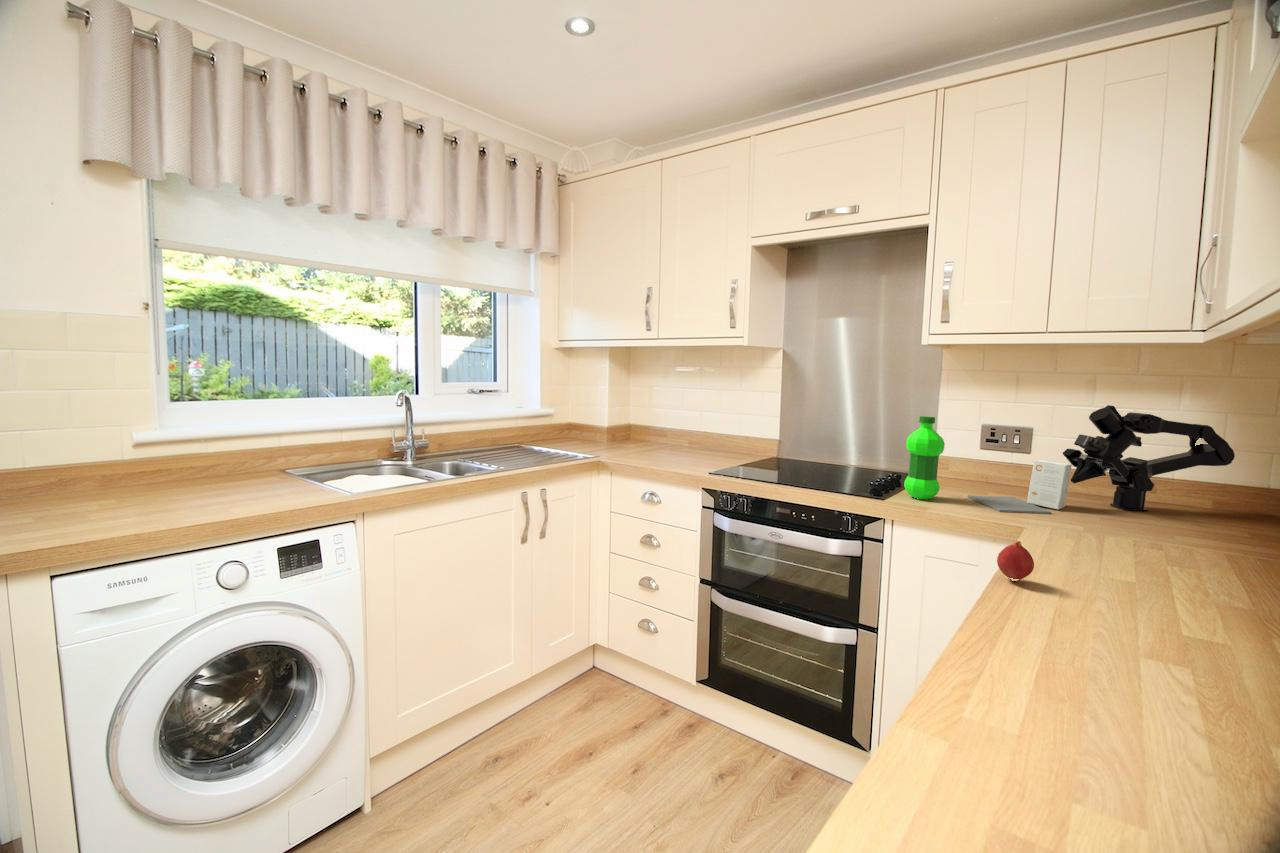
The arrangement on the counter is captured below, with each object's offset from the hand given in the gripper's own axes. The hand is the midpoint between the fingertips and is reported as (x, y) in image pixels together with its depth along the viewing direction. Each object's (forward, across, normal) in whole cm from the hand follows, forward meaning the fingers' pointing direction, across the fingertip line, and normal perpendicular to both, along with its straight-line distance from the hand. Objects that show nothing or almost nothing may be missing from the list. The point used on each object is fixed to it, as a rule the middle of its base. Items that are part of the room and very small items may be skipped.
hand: (1072, 481), depth 171 cm
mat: (+18, -1, -7) cm, 20 cm away
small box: (+10, 0, 0) cm, 10 cm away
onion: (+47, +60, -36) cm, 84 cm away
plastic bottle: (+34, -8, -23) cm, 42 cm away
